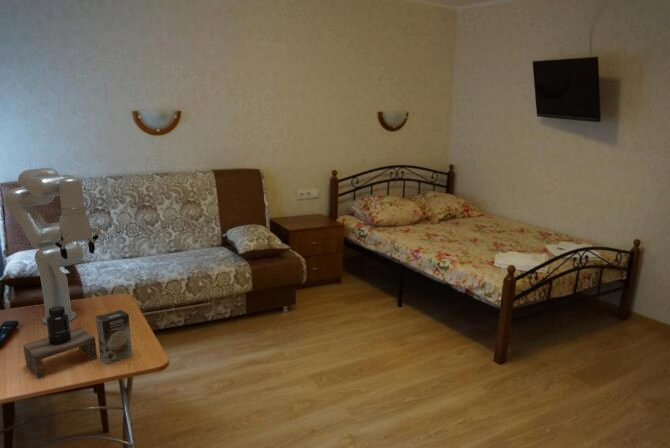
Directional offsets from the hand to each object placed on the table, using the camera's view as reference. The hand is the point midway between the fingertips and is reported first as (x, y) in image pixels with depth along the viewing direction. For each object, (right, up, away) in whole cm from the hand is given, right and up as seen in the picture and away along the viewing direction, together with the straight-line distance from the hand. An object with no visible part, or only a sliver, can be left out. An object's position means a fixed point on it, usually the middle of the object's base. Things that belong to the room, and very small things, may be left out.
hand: (78, 255), depth 191 cm
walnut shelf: (+1, -36, -13) cm, 39 cm away
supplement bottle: (+1, -29, -15) cm, 32 cm away
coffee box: (+18, -36, -10) cm, 41 cm away
